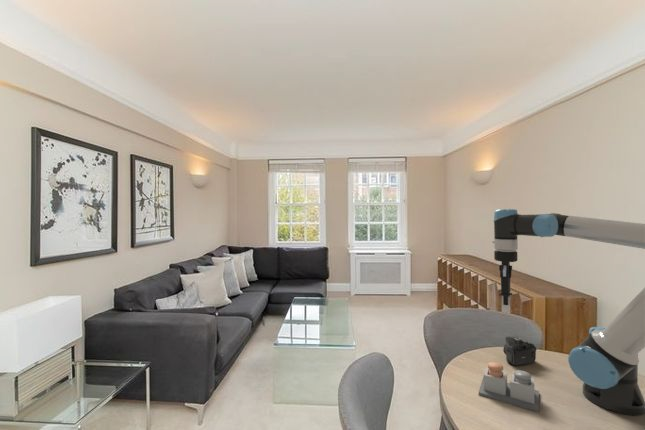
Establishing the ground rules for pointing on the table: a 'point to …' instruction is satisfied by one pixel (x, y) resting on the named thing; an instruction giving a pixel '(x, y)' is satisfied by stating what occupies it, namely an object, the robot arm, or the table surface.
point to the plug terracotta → (495, 369)
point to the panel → (510, 391)
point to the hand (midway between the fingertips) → (506, 312)
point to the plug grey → (522, 377)
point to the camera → (519, 351)
